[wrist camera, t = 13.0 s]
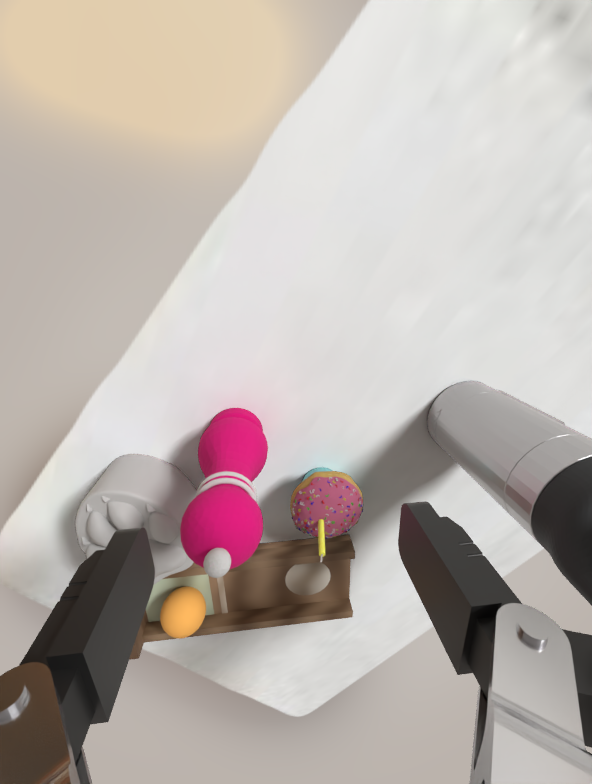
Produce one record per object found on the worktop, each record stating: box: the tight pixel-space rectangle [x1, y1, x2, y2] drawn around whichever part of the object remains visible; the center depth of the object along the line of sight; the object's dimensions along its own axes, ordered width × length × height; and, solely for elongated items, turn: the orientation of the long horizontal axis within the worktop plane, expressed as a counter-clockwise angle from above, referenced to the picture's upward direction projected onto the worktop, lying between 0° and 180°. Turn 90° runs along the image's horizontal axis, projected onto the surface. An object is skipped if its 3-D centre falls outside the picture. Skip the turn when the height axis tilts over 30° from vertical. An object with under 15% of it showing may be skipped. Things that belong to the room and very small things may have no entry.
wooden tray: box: [129, 535, 355, 659], centre depth 46 cm, size 30×12×5 cm, turn 92°
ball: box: [160, 586, 206, 638], centre depth 44 cm, size 6×6×6 cm
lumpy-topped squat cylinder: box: [75, 454, 197, 585], centre depth 38 cm, size 10×13×9 cm
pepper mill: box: [180, 408, 268, 578], centre depth 31 cm, size 7×7×20 cm
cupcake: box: [290, 468, 363, 563], centre depth 38 cm, size 9×8×12 cm
